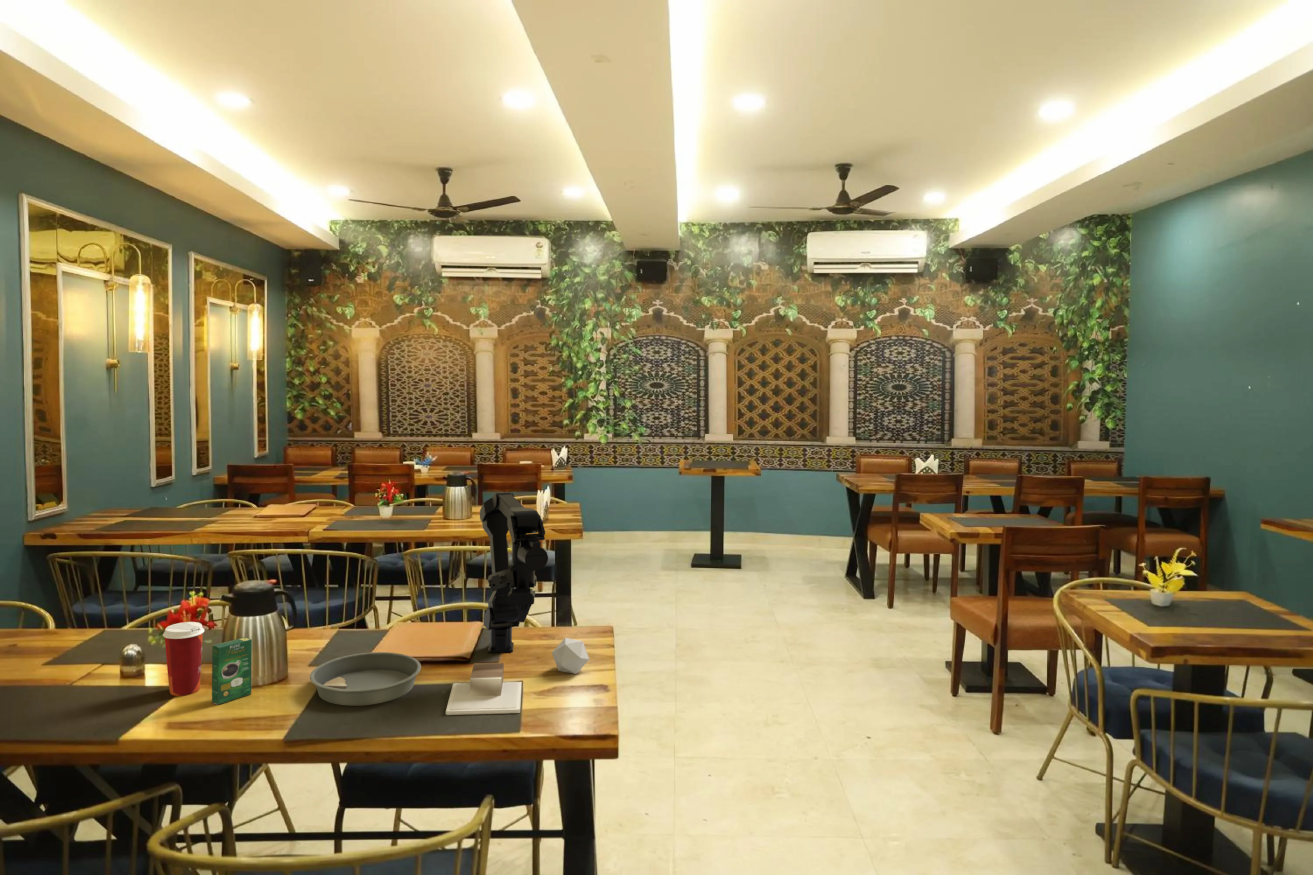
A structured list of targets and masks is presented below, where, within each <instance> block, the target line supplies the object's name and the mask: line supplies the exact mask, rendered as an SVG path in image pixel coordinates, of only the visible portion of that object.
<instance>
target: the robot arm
mask: <svg viewBox="0 0 1313 875" xmlns="http://www.w3.org/2000/svg"><path fill="white" fill-rule="evenodd" d="M479 520H480V521H481V523H482V524H481V525H482V529H483V531H484V532H485V533H486V535H487V536H488V537H489V548H490V549H489V550H490V551H489V552H490V561H491V562H490V564H491V574H489V575H488V577H487V582H488V587H489V588H490V590H491V592H492V593H491V595H490V598H489V599H488V601H487V606H488V607H487V608H486V610H485V614H484V616H483V626H484V627H485V629H487V631H490V637H489V638H490V639H489V640H490V642H489V644H488V649H487V652H488V653H512V652H514V642H513V628H515V627H516V628H518V627H519V626H520V623H524V622H525V621H526V618H527V616H528V614H529V612H530V609H531V608H532V605H534V604H535V597H536V596H535V595H536V591H535V590H533V589H534V588H535V587H536V586H537V576H536V573H535V572H536V571H540V570H543V569H544V567H546V566H547V564H548V561H549V555H548V552H547V551H546V549H545V548H543V547H542V546H541V544H542V542H541V541H545V540H546V539H545V537H546V530H545V525H544V523H543V522H544V521H543V519H542V517H541V515H540V514H539V512H538V511H537V510H536V509H534V508H533V507H531V508H530V507H524V506H523V505H522V503H520V502H519V500H518V499H517V498H516V497H515V494H514V493H513V492H510V491H505V492H504V491H502V492H501V491H500V492H499V491H498V492H496V493H494V494H493V495H492V496H491V498H488V499H487V500H486V501H484V502H483V503H482V506H481V507H480V509H479ZM508 533H509V535H510V539H511V542H512V543H511V563H510V562H509V561H510V560H509V550H508V537H507V535H508Z"/></svg>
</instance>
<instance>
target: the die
mask: <svg viewBox="0 0 1313 875" xmlns="http://www.w3.org/2000/svg"><path fill="white" fill-rule="evenodd" d="M551 654H552V657H553V659H554V662H555V665H556V667H557V670H558V671H559V672H564V673H568V674H572V675H573V674H574V675H577V674H578V673H579V672H580V671H581V670H582V669H583V667H584V666H585V665H586V664H587V663H588V662H589V661H590V657H589V655H588V651H587V648H586V646H585V644H584V641H583V640H579V639H574V638H568V637H564V638H563V639H562V641H561V642H560V643H559V644H558V645H557V646H556V648H554V649H553V651H552V652H551Z"/></svg>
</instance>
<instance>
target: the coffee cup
mask: <svg viewBox="0 0 1313 875" xmlns="http://www.w3.org/2000/svg"><path fill="white" fill-rule="evenodd" d="M204 632H205V628H203V624H202V623H201V622H198V621H196V622H195V621H185V622H178V623H174V624H171V625H168V626H167V627H166V628H165V629H164V632H163V634H162V638H164V644H165V646H164V647H165V657H166V658H165V660H166V665H167V666H166V667H167V668H166V670H167V680H168V681H167V682H168V689H169V694H170V695H171V696H175V697H181V696H182V697H183V696H189V695H193V694H195V693H197V692H199V691H200V688H201V673H202V659H203V658H202V655H203V635H204Z"/></svg>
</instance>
